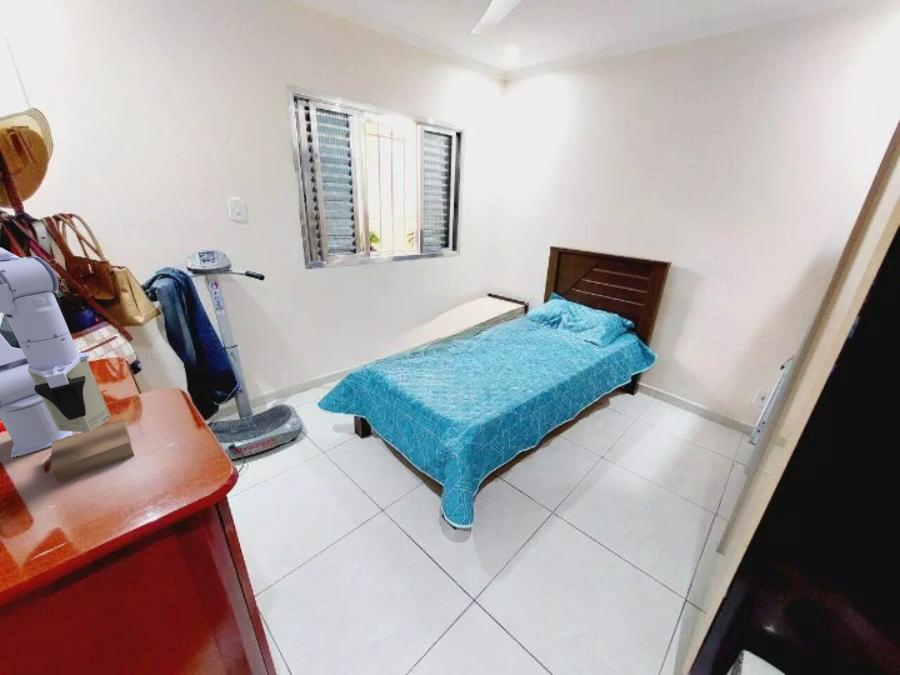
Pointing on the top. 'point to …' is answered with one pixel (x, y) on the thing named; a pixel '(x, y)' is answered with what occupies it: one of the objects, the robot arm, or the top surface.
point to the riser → (90, 451)
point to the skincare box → (92, 399)
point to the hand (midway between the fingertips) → (76, 408)
